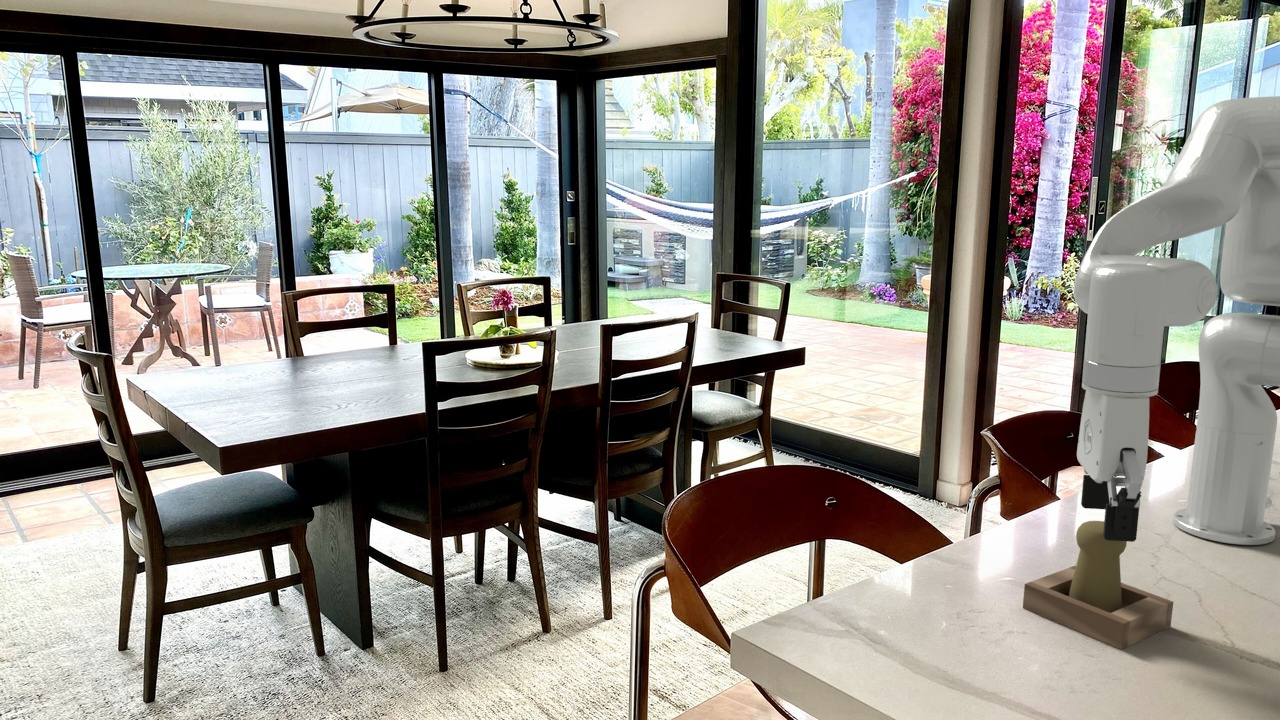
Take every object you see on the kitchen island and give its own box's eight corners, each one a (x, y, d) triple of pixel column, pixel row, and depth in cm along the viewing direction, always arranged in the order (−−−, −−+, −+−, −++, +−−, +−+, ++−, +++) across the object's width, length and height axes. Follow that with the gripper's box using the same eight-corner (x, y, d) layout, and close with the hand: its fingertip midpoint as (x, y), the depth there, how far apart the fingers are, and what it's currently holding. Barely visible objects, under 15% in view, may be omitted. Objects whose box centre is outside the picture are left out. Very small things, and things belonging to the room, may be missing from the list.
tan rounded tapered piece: (1128, 628, 106) (1138, 536, 104) (1070, 622, 107) (1079, 531, 105) (1115, 605, 111) (1124, 517, 109) (1060, 600, 113) (1068, 513, 111)
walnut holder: (1072, 588, 116) (1074, 565, 116) (1170, 626, 106) (1173, 601, 106) (1022, 607, 111) (1024, 583, 110) (1121, 649, 101) (1124, 623, 100)
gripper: (1065, 360, 112) (1055, 495, 116) (1104, 394, 96) (1091, 551, 99) (1133, 361, 111) (1120, 499, 114) (1185, 397, 94) (1168, 556, 98)
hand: (1107, 523), depth 107 cm, fingers open, 9 cm apart
